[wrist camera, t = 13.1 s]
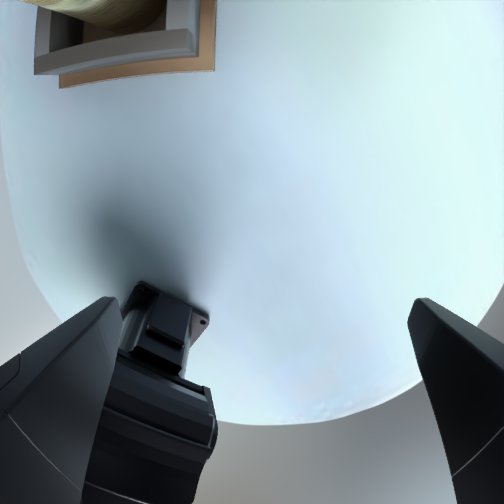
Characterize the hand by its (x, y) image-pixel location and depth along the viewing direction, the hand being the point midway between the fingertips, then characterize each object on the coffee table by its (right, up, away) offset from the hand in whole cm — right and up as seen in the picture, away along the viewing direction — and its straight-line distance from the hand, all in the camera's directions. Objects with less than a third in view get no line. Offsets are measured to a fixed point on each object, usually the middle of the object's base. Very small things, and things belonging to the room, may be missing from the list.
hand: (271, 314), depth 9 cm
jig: (-8, +17, +6) cm, 19 cm away
